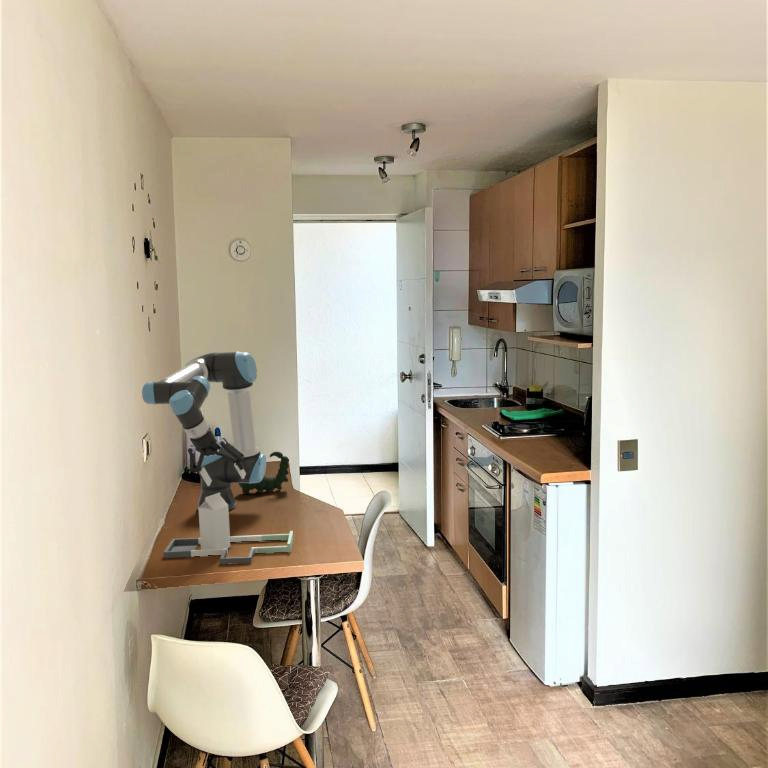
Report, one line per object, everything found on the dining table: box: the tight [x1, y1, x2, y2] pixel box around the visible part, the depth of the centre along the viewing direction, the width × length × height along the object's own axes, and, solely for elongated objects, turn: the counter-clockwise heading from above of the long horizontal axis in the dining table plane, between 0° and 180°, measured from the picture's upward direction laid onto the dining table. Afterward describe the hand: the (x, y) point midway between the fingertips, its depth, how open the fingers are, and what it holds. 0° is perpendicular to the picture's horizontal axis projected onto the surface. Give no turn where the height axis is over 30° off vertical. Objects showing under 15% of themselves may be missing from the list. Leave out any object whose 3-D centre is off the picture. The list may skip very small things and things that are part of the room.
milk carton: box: [198, 493, 231, 550], centre depth 262 cm, size 7×7×19 cm
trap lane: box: [162, 530, 294, 565], centre depth 259 cm, size 23×42×3 cm, turn 93°
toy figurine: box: [237, 451, 290, 495], centre depth 336 cm, size 9×19×25 cm
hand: (226, 480), depth 268 cm, fingers open, 13 cm apart
